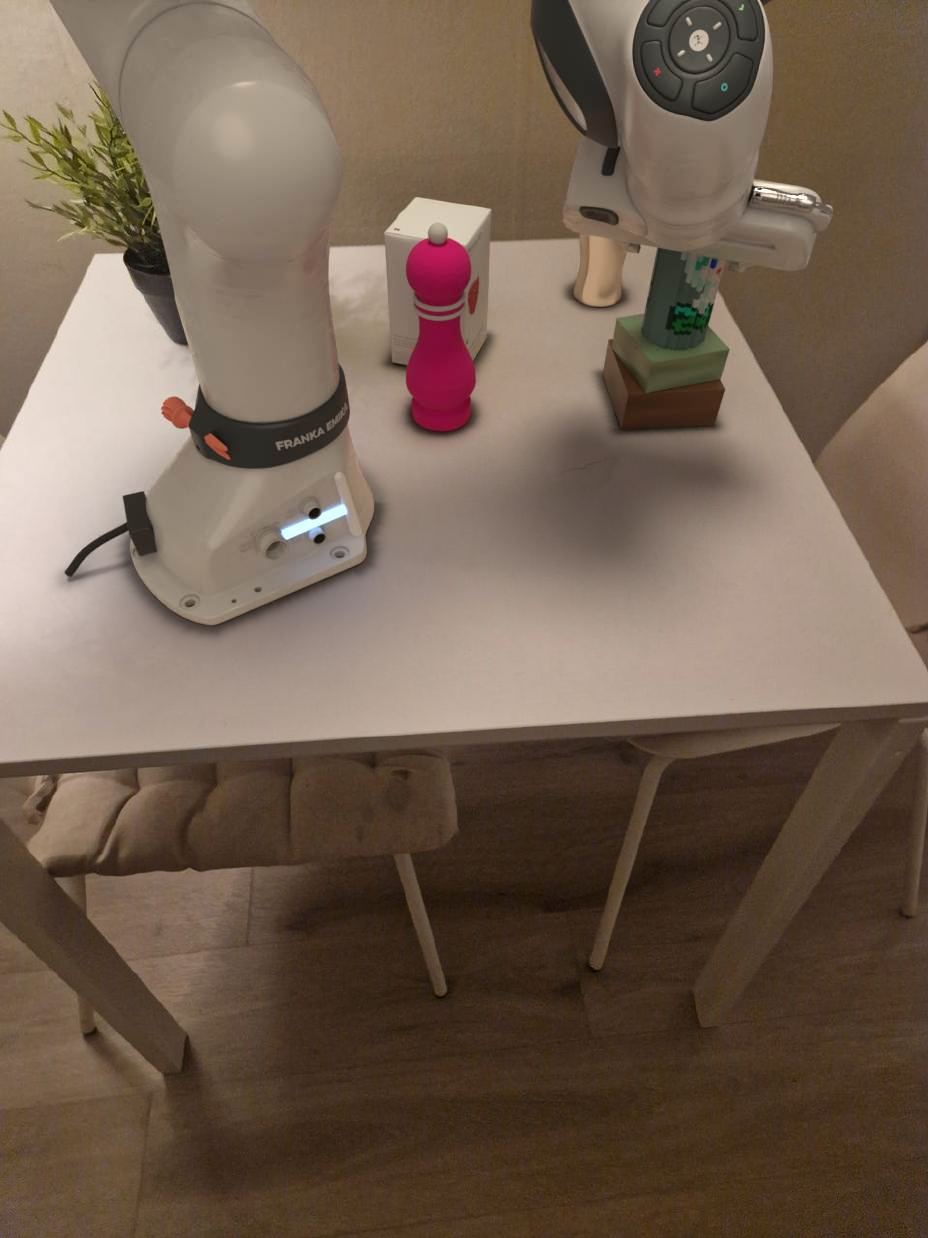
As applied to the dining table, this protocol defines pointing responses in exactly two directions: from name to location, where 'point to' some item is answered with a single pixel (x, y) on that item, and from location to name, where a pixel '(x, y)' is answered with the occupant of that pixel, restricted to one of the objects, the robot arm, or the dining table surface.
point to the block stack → (663, 379)
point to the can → (680, 299)
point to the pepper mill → (439, 333)
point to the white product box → (400, 238)
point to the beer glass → (599, 271)
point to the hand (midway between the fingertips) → (685, 253)
